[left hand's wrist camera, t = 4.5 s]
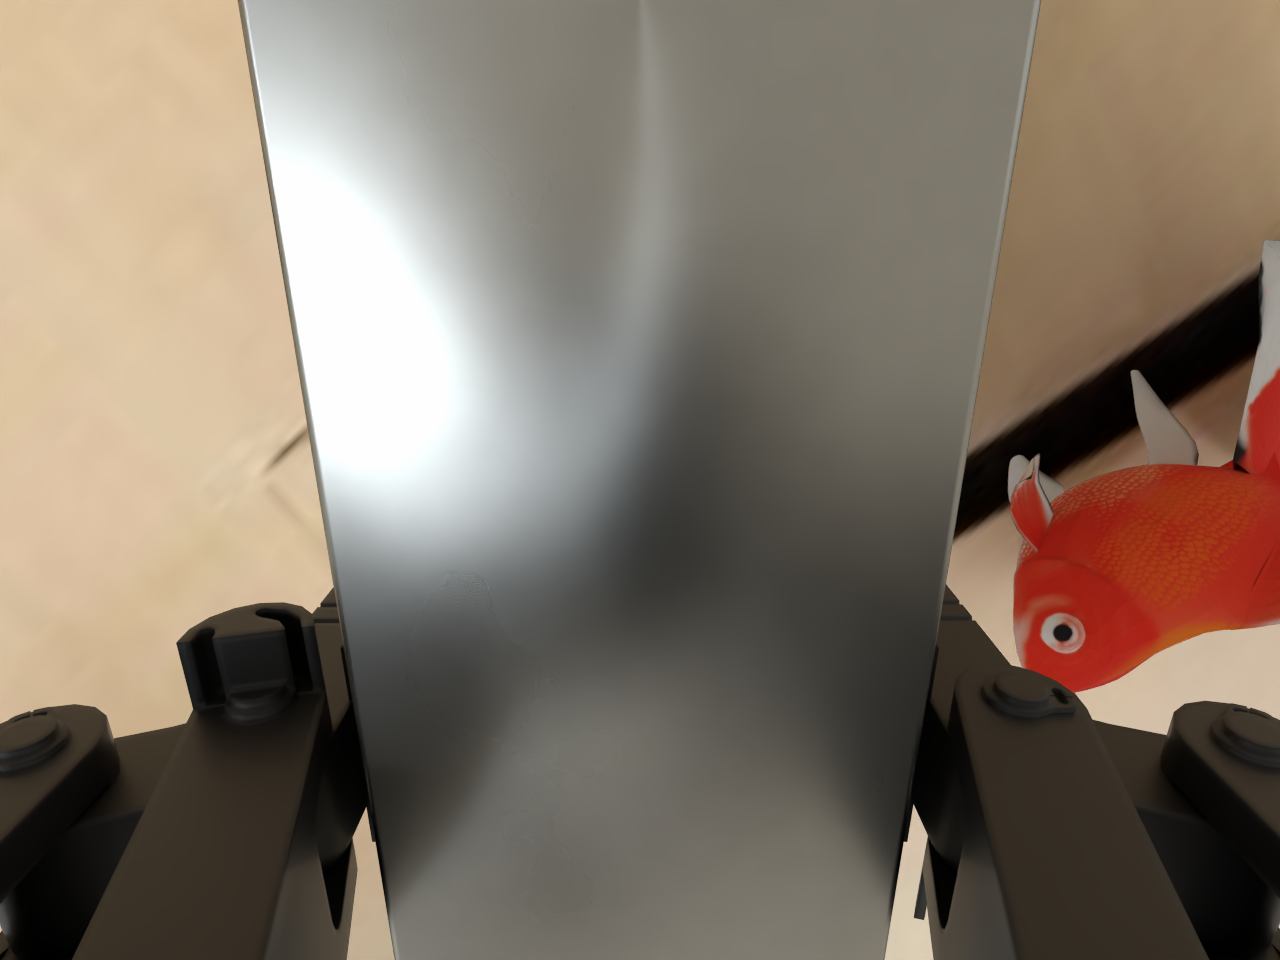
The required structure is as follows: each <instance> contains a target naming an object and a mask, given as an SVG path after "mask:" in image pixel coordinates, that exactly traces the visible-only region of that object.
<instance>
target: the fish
mask: <svg viewBox="0 0 1280 960" xmlns="http://www.w3.org/2000/svg"><path fill="white" fill-rule="evenodd" d="M1131 378H1132V385H1133V393H1134V401H1135V409H1136V414H1137V419H1138V422H1139V425H1140V429H1141V432H1142V435H1143V438H1144V440H1145V443H1146V448H1147V452H1148V465H1143V466H1137V467H1131V468H1127V469H1122V470H1118V471H1114V472H1110V473H1106V474H1103V475H1100V476H1097V477H1094V478H1091V479H1089V480H1086V481H1084V482H1082V483H1079V484H1077V485H1076V486H1074V487H1072V488H1071V489H1069V490H1067V491H1066V492H1064V489H1063V486H1062V485H1061V484H1060V483H1059V482H1058V481H1056V480H1054V479H1053V478H1051V477H1049V476H1047V475H1046V474H1044V473H1042V472H1041V471H1040V470H1039V464H1040V453H1038V454H1037V455H1036V456H1035V457H1034V458H1033V459H1032V460H1031V461H1030V462H1029V461H1028V460H1027V459H1026V458H1025V457H1024V456H1021V455H1017V456H1015V457H1013V458H1012V459H1011V461H1010V465H1009V475H1008V495H1009V501H1010V503H1011V504H1010V514H1011V516H1012V518H1013V521H1014V523H1015V526H1016V528H1017V530H1018V531H1019V532H1020V534H1021V535H1022V536H1023V537H1024V541H1023V543H1022V545H1021V549H1020V553H1019V557H1018V561H1017V567H1016V571H1015V575H1014V610H1013V622H1014V636H1015V643H1016V649H1017V654H1018V657H1019V660H1020V663H1021V666H1022V668H1025V669H1029V670H1033V671H1035V672H1037V673H1040V674H1042V675H1044V676H1047V677H1049V678H1052V679H1054V680H1056V681H1057V682H1059V683H1060V684H1062V685H1063V686H1065V687H1066V688H1068V689H1069V690H1070V691H1072V692H1073V693H1075V692H1080V691H1084V690H1088V689H1091V688H1095V687H1098V686H1102V685H1105V684H1107V683H1110V682H1112V681H1115V680H1117V679H1119V678H1121V677H1122V676H1124V675H1126V674H1127V673H1129V672H1130V671H1132V670H1133V669H1134V668H1136V667H1137V666H1139V665H1140V664H1141V663H1143V662H1144V661H1146V660H1147V659H1148V658H1150V657H1151V656H1153V655H1154V654H1156V653H1158V652H1160V651H1162V650H1164V649H1166V648H1168V647H1170V646H1173V645H1175V644H1177V643H1180V642H1182V641H1185V640H1187V639H1190V638H1192V637H1195V636H1198V635H1200V634H1203V633H1206V632H1212V631H1218V630H1230V629H1231V630H1236V629H1246V628H1256V627H1262V626H1269V625H1275V624H1280V241H1272V240H1264V244H1263V251H1262V258H1261V265H1260V272H1259V344H1258V349H1257V353H1256V358H1255V363H1254V367H1253V372H1252V376H1251V381H1250V386H1249V390H1248V395H1247V399H1246V404H1245V408H1244V413H1243V418H1242V422H1241V427H1240V431H1239V435H1238V440H1237V444H1236V449H1235V453H1234V458H1233V460H1232V461H1230V462H1228V463H1226V464H1224V465H1223V466H1221V467H1209V466H1197V462H1198V456H1199V454H1198V450H1197V447H1196V443H1195V441H1194V440H1193V439H1192V437H1191V436H1190V434H1189V433H1188V432H1187V430H1186V429H1185V428H1184V427H1183V426H1182V424H1181V423H1180V422H1179V421H1178V420H1177V419H1176V418H1175V417H1174V415H1173V414H1172V413H1171V412H1170V411H1169V410H1168V408H1167V407H1166V406H1165V405H1164V404H1163V402H1162V401H1161V400H1160V399H1159V397H1158V396H1157V395H1156V393H1155V392H1154V391H1153V389H1152V388H1151V387H1150V385H1149V384H1148V383H1147V381H1146V380H1145V379H1144V377H1143V376H1142V375H1141V373H1140V372H1139V371H1138V370H1132V371H1131Z"/></svg>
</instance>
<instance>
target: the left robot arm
mask: <svg viewBox="0 0 1280 960" xmlns="http://www.w3.org/2000/svg"><path fill="white" fill-rule="evenodd" d="M177 647H178V651H179V655H180V659H181V663H182V667H183V671H184V675H185V679H186V683H187V686H188V690H189V694H190V698H191V702H192V706H193V711H192V713H191V715H190V717H189V719H188V721H187V723H185V724H181V725H178V726H174V727H170V728H164V729H159V730H154V731H149V732H144V733H139V734H134V735H129V736H124V737H119V738H114V739H113V735H112V732H111V729H110V725H109V722H108V719H107V716H106V715H105V714H104V713H102V712H101V711H100V710H98V709H97V708H96V707H90V706H83V705H76V704H74V705H65V706H56V707H46V708H42V709H37V710H34V712H31V713H30V711H29V712H26V713H23V714H20V715H17V716H15V717H12V718H11V719H9V720H8V721H6V722H4V723H1V724H0V926H1V928H2V931H1V933H0V960H347V952H348V944H349V935H350V927H351V919H352V911H353V903H354V894H355V886H356V878H357V863H356V856H355V850H354V844H353V838H352V837H353V835H354V833H355V830H356V828H357V826H358V824H359V822H360V819H361V817H362V815H363V813H364V811H365V808H366V806H367V812H368V818H369V824H370V830H371V836H372V842H376V841H375V835H374V829H373V823H372V817H371V810H370V804H369V798H368V792H367V786H366V780H365V774H364V768H363V762H362V755H361V749H360V743H359V737H358V731H357V725H356V719H355V713H354V707H353V701H352V694H351V688H350V682H349V676H348V670H347V664H346V658H345V652H344V646H343V639H342V633H341V627H340V621H339V615H338V609H337V603H336V597H335V591H334V587H333V589H332V590H331V591H330V592H329V594H328V595H327V596H326V597H325V599H324V600H323V601H322V602H321V607H317V609H316V610H315V611H314V612H313V614H311V613H310V612H309V611H307V610H306V609H305V608H303V607H302V606H297V605H293V604H288V603H259V604H254V605H249V606H244V607H239V608H234V609H231V610H229V611H226V612H223V613H220V614H218V615H215V616H212V617H210V618H208V619H206V620H204V621H203V622H201V623H199V624H198V625H196V626H194V627H192V628H191V629H189V630H188V631H187V632H186V633H185V634H184V635H183V636H182V637H181V638H180V640H179V641H178V642H177ZM913 804H914V806H915V808H916V810H917V812H918V815H919V817H920V819H921V821H922V823H923V825H924V828H925V830H926V832H927V834H928V838H927V844H926V850H925V855H924V861H923V867H922V872H921V878H920V883H919V889H918V895H917V900H916V907H915V914H914V918H917V919H922V920H924V917H925V912H926V906H927V909H928V917H929V925H930V934H931V942H932V950H933V958H934V960H1280V929H1279V928H1278V927H1279V924H1280V720H1278V719H1276V718H1274V717H1272V716H1271V715H1269V714H1267V713H1265V712H1262V711H1259V710H1256V709H1253V708H1250V709H1248V708H1247V707H1246V706H1242V705H1237V704H1228V703H1220V702H1211V701H1201V702H1194V703H1186V704H1184V705H1183V706H1181V707H1180V708H1179V709H1177V710H1176V711H1175V712H1174V714H1173V717H1172V720H1171V723H1170V727H1169V730H1168V733H1167V735H1163V734H1157V733H1152V732H1147V731H1142V730H1137V729H1132V728H1127V727H1122V726H1117V725H1112V724H1107V723H1103V722H1100V721H1096V720H1092V718H1091V716H1090V714H1089V712H1088V710H1087V708H1086V707H1085V706H1084V704H1083V703H1082V702H1081V701H1080V699H1079V698H1078V697H1077V696H1076V694H1075V693H1073V692H1072V691H1070V690H1069V689H1068V688H1066V687H1065V686H1063V685H1062V684H1060V683H1059V682H1057V681H1056V680H1054V679H1052V678H1049V677H1047V676H1044V675H1042V674H1040V673H1037V672H1035V671H1033V670H1029V669H1025V668H1020V667H1016V666H1012V665H1010V663H1009V662H1008V661H1007V660H1006V658H1005V657H1004V656H1003V655H1002V653H1001V652H1000V651H999V650H998V648H997V647H996V646H995V645H994V643H993V642H992V641H991V640H990V638H989V637H988V636H987V635H986V634H985V632H984V631H983V630H982V629H981V627H980V626H979V625H978V624H977V622H976V621H972V616H971V615H970V614H969V612H968V611H967V610H966V609H965V607H964V606H963V605H960V604H959V600H958V599H957V597H956V596H955V595H954V594H953V592H952V591H951V590H950V589H949V588H948V586H947V585H945V591H944V597H943V603H942V609H941V616H940V622H939V628H938V634H937V640H936V646H935V652H934V658H933V665H932V671H931V677H930V683H929V689H928V695H927V701H926V707H925V714H924V720H923V726H922V732H921V738H920V744H919V750H918V756H917V763H916V769H915V775H914V781H913V787H912V793H911V799H910V805H909V812H908V818H907V824H906V830H905V836H904V842H907V839H908V833H909V827H910V821H911V815H912V809H913Z"/></svg>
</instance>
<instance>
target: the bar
mask: <svg viewBox="0 0 1280 960" xmlns="http://www.w3.org/2000/svg"><path fill="white" fill-rule="evenodd" d="M1040 3H1041V0H238V4H239V11H240V17H241V23H242V29H243V35H244V41H245V47H246V53H247V59H248V66H249V72H250V78H251V84H252V90H253V96H254V102H255V108H256V114H257V120H258V127H259V133H260V139H261V145H262V151H263V157H264V163H265V169H266V175H267V182H268V188H269V194H270V200H271V206H272V212H273V218H274V224H275V230H276V236H277V243H278V249H279V255H280V261H281V267H282V273H283V279H284V285H285V291H286V298H287V304H288V310H289V316H290V322H291V328H292V334H293V340H294V346H295V352H296V359H297V365H298V371H299V377H300V383H301V389H302V395H303V401H304V407H305V414H306V420H307V426H308V432H309V438H310V444H311V450H312V456H313V462H314V469H315V475H316V481H317V487H318V493H319V499H320V505H321V511H322V517H323V523H324V530H325V536H326V542H327V548H328V554H329V560H330V566H331V572H332V578H333V585H334V591H335V597H336V603H337V609H338V615H339V621H340V627H341V633H342V639H343V646H344V652H345V658H346V664H347V670H348V676H349V682H350V688H351V694H352V701H353V707H354V713H355V719H356V725H357V731H358V737H359V743H360V749H361V755H362V762H363V768H364V774H365V780H366V786H367V792H368V798H369V804H370V810H371V817H372V823H373V829H374V835H375V841H376V847H377V853H378V859H379V865H380V871H381V878H382V884H383V890H384V896H385V902H386V908H387V914H388V920H389V926H390V933H391V939H392V945H393V951H394V957H395V960H884V958H885V952H886V946H887V940H888V934H889V928H890V922H891V916H892V909H893V903H894V897H895V891H896V885H897V879H898V873H899V867H900V860H901V854H902V848H903V842H904V836H905V830H906V824H907V818H908V812H909V805H910V799H911V793H912V787H913V781H914V775H915V769H916V763H917V756H918V750H919V744H920V738H921V732H922V726H923V720H924V714H925V707H926V701H927V695H928V689H929V683H930V677H931V671H932V665H933V658H934V652H935V646H936V640H937V634H938V628H939V622H940V616H941V609H942V603H943V597H944V591H945V585H946V579H947V573H948V567H949V561H950V554H951V548H952V542H953V536H954V530H955V524H956V518H957V512H958V505H959V499H960V493H961V487H962V481H963V475H964V469H965V463H966V456H967V450H968V444H969V438H970V432H971V426H972V420H973V414H974V407H975V401H976V395H977V389H978V383H979V377H980V371H981V365H982V359H983V352H984V346H985V340H986V334H987V328H988V322H989V316H990V310H991V303H992V297H993V291H994V285H995V279H996V273H997V267H998V261H999V254H1000V248H1001V242H1002V236H1003V230H1004V224H1005V218H1006V212H1007V205H1008V199H1009V193H1010V187H1011V181H1012V175H1013V169H1014V163H1015V157H1016V150H1017V144H1018V138H1019V132H1020V126H1021V120H1022V114H1023V108H1024V101H1025V95H1026V89H1027V83H1028V77H1029V71H1030V65H1031V59H1032V52H1033V46H1034V40H1035V34H1036V28H1037V22H1038V16H1039V10H1040Z"/></svg>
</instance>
